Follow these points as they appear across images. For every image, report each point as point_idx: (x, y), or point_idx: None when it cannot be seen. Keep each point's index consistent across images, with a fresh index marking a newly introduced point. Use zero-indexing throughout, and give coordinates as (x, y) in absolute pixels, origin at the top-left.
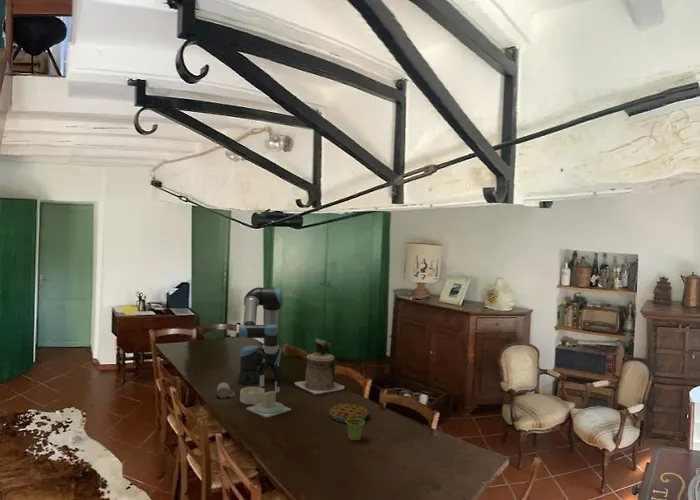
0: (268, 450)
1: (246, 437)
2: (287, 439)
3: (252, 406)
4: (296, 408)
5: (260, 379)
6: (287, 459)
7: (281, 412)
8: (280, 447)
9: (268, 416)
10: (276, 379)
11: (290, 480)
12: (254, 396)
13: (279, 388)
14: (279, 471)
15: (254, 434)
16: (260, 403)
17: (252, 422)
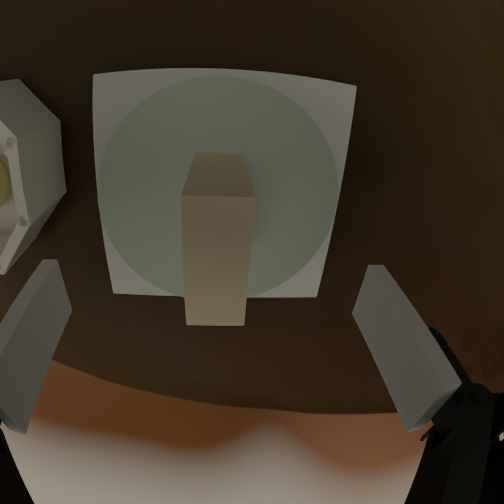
0: None
1: (364, 409)
2: (474, 340)
3: (110, 253)
4: (354, 32)
5: (38, 384)
6: (488, 379)
7: (340, 181)
8: (467, 371)
9: (318, 282)
10: (433, 447)
11: None
12: (35, 223)
13: (401, 294)
14: None
15: (374, 391)
16: (120, 209)
17: (297, 359)
